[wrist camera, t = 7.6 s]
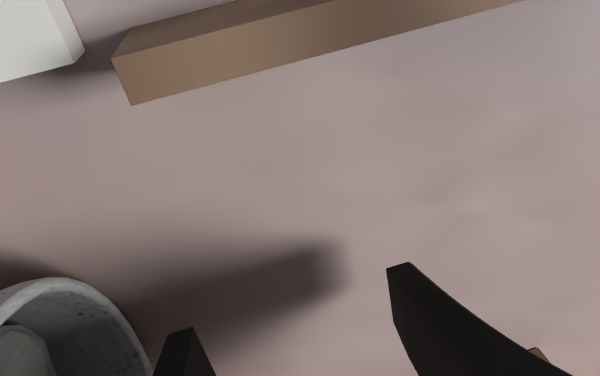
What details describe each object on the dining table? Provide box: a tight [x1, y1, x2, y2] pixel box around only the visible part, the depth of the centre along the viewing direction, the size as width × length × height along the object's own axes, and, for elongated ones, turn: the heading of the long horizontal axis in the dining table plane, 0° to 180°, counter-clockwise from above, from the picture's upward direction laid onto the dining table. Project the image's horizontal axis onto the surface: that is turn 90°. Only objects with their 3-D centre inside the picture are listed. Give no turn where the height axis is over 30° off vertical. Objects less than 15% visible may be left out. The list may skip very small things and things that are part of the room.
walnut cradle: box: [111, 0, 551, 364], centre depth 13 cm, size 10×15×2 cm, turn 12°
